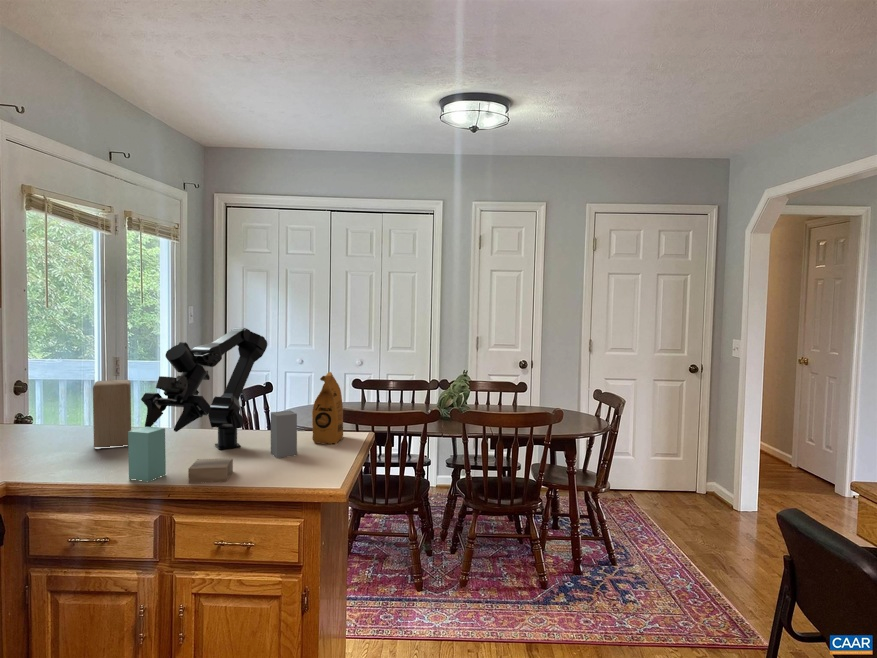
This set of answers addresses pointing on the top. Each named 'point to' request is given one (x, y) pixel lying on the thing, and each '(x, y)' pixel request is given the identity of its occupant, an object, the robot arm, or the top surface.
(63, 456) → the top surface
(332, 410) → the coffee package
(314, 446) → the top surface
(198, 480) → the taupe square slab
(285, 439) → the grey rectangular pillar
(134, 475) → the teal pillar
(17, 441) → the top surface
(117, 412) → the block
